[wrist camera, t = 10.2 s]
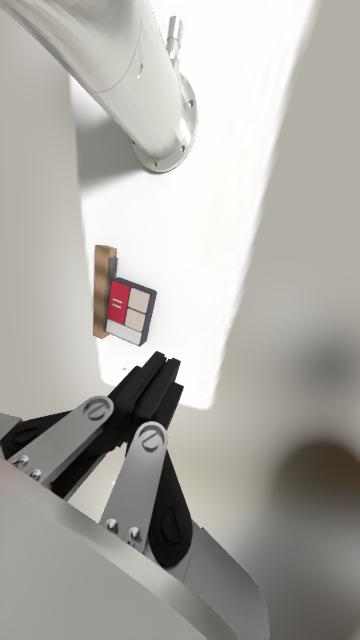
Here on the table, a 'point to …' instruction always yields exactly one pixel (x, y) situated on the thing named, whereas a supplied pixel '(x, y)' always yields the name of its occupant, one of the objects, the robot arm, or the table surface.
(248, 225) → the table surface
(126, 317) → the calculator
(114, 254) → the bar
